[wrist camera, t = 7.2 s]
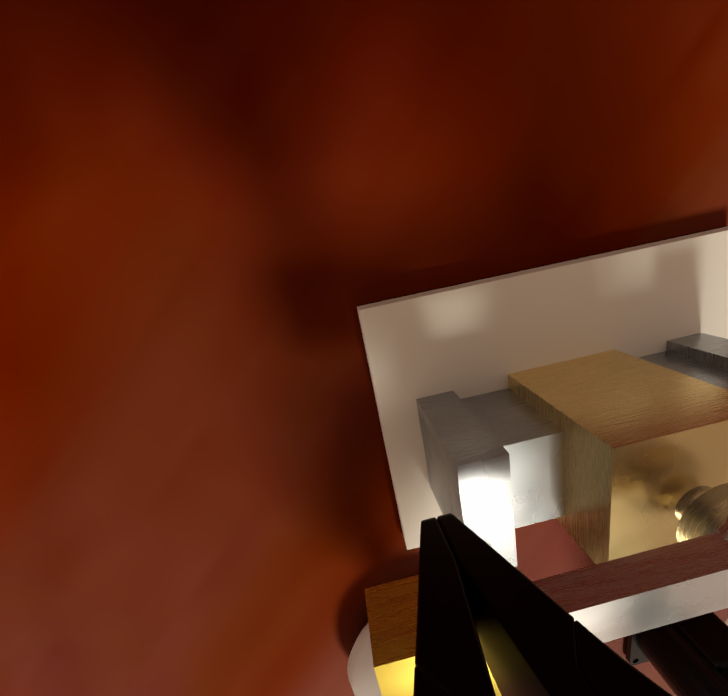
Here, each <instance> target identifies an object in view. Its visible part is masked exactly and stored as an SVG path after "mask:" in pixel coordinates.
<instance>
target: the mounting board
mask: <svg viewBox="0 0 728 696" xmlns="http://www.w3.org/2000/svg"><path fill="white" fill-rule="evenodd" d="M357 311H358V316H359V321H360V326H361V331H362V335H363V340H364V345H365V350H366V355H367V360H368V365H369V370H370V375H371V380H372V384H373V389H374V394H375V399H376V404H377V409H378V414H379V419H380V424H381V429H382V433H383V438H384V443H385V448H386V453H387V458H388V463H389V468H390V473H391V477H392V482H393V487H394V492H395V497H396V502H397V507H398V512H399V517H400V522H401V526H402V531H403V536H404V540H405V544H406V547H407V550H410V549H413V548H417V547H420V528H421V521H422V520H425V519H429V518H433V517H435V518H436V519H437V517H438V516H440V515H443V514H442V512H441V510H440V507H439V505H438V503H437V501H436V498H435V496H434V494H433V492H432V489H431V487H430V482H429V476H428V470H427V464H426V458H425V452H424V445H423V439H422V433H421V427H420V421H419V415H418V409H417V402H416V399H419V398H423V397H427V396H431V395H436V394H440V393H444V392H449V391H454V392H455V393H456V394H457V395H458V397H459V398H460V399H463V398H468V397H472V396H476V395H480V394H485V393H489V392H493V391H498V390H502V389H506V388H509V387H508V374H511V373H515V372H519V371H524V370H528V369H532V368H537V367H541V366H545V365H550V364H554V363H558V362H562V361H567V360H571V359H575V358H580V357H584V356H588V355H593V354H597V353H601V352H605V351H610V350H614V349H615V350H618V351H621V352H624V353H626V354H629V355H632V356H635V357H642V356H647V355H651V354H655V353H659V352H664V351H666V343H667V341H668V340H672V339H676V338H680V337H685V336H689V335H693V334H698V333H704V334H709V335H713V336H717V337H721V338H726V339H728V226H727V227H722V228H718V229H713V230H709V231H704V232H699V233H695V234H690V235H685V236H681V237H676V238H672V239H667V240H662V241H658V242H653V243H648V244H644V245H639V246H635V247H630V248H625V249H621V250H616V251H611V252H607V253H602V254H598V255H593V256H588V257H584V258H579V259H574V260H570V261H565V262H561V263H556V264H551V265H547V266H542V267H537V268H533V269H528V270H523V271H519V272H514V273H510V274H505V275H500V276H496V277H491V278H486V279H482V280H477V281H473V282H468V283H463V284H459V285H454V286H449V287H445V288H440V289H436V290H431V291H426V292H422V293H417V294H412V295H408V296H403V297H399V298H394V299H389V300H385V301H380V302H375V303H371V304H366V305H362V306H357Z"/></svg>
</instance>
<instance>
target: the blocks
mask: <svg viewBox="0 0 728 696" xmlns="http://www.w3.org/2000/svg"><path fill="white" fill-rule="evenodd" d="M508 387H509V388H506V389H502V390H498V391H493V392H489V393H485V394H480V395H476V396H472V397H468V398H463V399H460V398H459V397H458V395H457V394H456V393H455V392H454V391H449V392H444V393H440V394H436V395H431V396H427V397H423V398H419V399H416V402H417V409H418V415H419V421H420V427H421V433H422V439H423V445H424V452H425V458H426V464H427V470H428V476H429V482H430V487H431V489H432V492H433V494H434V496H435V498H436V501H437V503H438V505H439V507H440V510H441V512H442V514H443V515H444V514H448V513H452V514H453V515H455V516H456V517H457V518H458V519H459V520H461V521H462V522H463V523H464V524H465V525H466V526H468V527H469V528H470V529H471V530H472V531H473V532H475V533H476V534H477V535H478V536H479V537H480V538H482V539H483V540H484V541H485V542H486V543H487V544H489V545H490V546H491V547H492V548H493V549H494V550H496V551H497V552H498V553H499V554H500V555H501V556H503V557H504V558H505V559H506V560H507V561H508V562H510V563H511V564H512V565H513V566H514V567H516V566H517V556H516V542H515V528H519V527H522V526H526V525H530V524H534V523H538V522H542V521H546V520H550V519H554V518H557V519H558V521H559V522H560V523H561V524H562V525H563V526H564V528H565V529H566V530H567V531H568V532H569V534H570V535H571V536H572V537H573V538H574V539H575V541H576V542H577V543H578V544H579V545H580V546H581V548H582V549H583V550H584V551H585V552H586V553H587V555H588V556H589V557H590V558H591V559H592V560H593V562H594V563H595V564H599V563H603V562H607V561H610V560H614V559H618V558H622V557H625V556H629V555H633V554H637V553H640V552H644V551H648V550H651V549H655V548H659V547H663V546H666V545H670V544H674V543H678V541H677V537H676V530H677V526H678V523H679V520H678V519H677V517H676V515H675V508H676V505H677V503H678V501H679V500H680V498H681V497H682V496H683V495H684V494H685V493H686V492H688V491H689V490H691V489H693V488H695V487H698V486H710V487H712V488H713V487H716V486H718V485H721V484H724V483H728V339H726V338H721V337H717V336H713V335H709V334H704V333H698V334H693V335H689V336H685V337H680V338H676V339H672V340H668V341H667V343H666V351H664V352H659V353H655V354H651V355H647V356H642V357H635V356H632V355H629V354H626V353H624V352H621V351H618V350H615V349H614V350H610V351H605V352H601V353H597V354H593V355H588V356H584V357H580V358H575V359H571V360H567V361H562V362H558V363H554V364H550V365H545V366H541V367H537V368H532V369H528V370H524V371H519V372H515V373H511V374H508Z"/></svg>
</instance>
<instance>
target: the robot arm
mask: <svg viewBox="0 0 728 696" xmlns="http://www.w3.org/2000/svg"><path fill="white" fill-rule="evenodd" d="M626 659H627V660H628V662H629V663H630V664H629V663H628V662H627V661H625V660H624V659H623V658H622V657H620V656H619V655H618V654H617V653H615V652H614V651H613V650H612V649H611V648H609V647H608V646H607V645H606V644H605V643H603V642H602V641H601V640H600V639H598V638H597V637H596V636H595V635H594V634H592V633H591V632H590V631H589V630H588V629H587V628H586V627H584V626H583V625H582V624H581V623H580V622H579V621H577V620H576V621H575V622H574V618H573V616H571V615H570V614H569V613H568V612H567V611H566V610H564V609H563V608H562V607H561V606H560V605H559V604H557V603H556V602H555V601H554V600H553V599H552V598H550V597H549V596H548V595H547V594H546V593H545V592H543V591H542V590H541V589H540V588H539V587H538V586H536V585H535V584H534V583H533V582H532V581H531V580H529V579H528V578H527V577H526V576H525V575H524V574H522V573H521V572H520V571H519V570H518V569H517V568H515V567H514V566H513V565H512V564H511V563H510V562H508V561H507V560H506V559H505V558H504V557H503V556H501V555H500V554H499V553H498V552H497V551H496V550H494V549H493V548H492V547H491V546H490V545H489V544H487V543H486V542H485V541H484V540H483V539H482V538H480V537H479V536H478V535H477V534H476V533H475V532H473V531H472V530H471V529H470V528H469V527H468V526H466V525H465V524H464V523H463V522H462V521H461V520H459V519H458V518H457V517H456V516H455V515H453V514H452V513H448V514H444V515H440V516H438V517H437V519H436V518H435V517H433V518H429V519H425V520H422V521H421V528H420V552H419V576H418V600H417V624H416V648H415V666H416V667H415V668H414V691H413V696H496V694H495V691H494V688H493V684H492V681H491V677H490V674H489V670H488V667H489V669H490V671H491V673H492V676H493V678H494V680H495V682H496V684H497V687H498V689H499V691H500V693H501V695H502V696H672V695H671V694H669V693H668V692H667V691H665V690H664V689H662V688H661V687H660V686H658V685H657V684H656V683H654V682H653V681H652V680H650V679H649V678H648V677H646V676H645V675H644V674H643V673H641V672H640V671H639V670H637V669H636V668H635V667H633V666H632V665H637V664H640V663H644V662H647V661H650V662H651V664H652V665H653V666H654V668H655V669H656V670H657V671H658V673H659V674H660V675H661V676H662V678H663V679H664V680H665V682H666V683H667V684H668V685H669V687H670V688H671V689H672V691H673V692H674V693H675V694H676V696H728V626H727V625H726V624H725V623H724V622H723V621H722V620H721V619H720V618H719V617H718V616H717V615H716V614H714V613H713V612H711V613H707V614H704V615H700V616H697V617H693V618H689V619H686V620H682V621H679V622H675V623H672V624H668V625H665V626H661V627H657V628H654V629H650V630H647V631H643V632H640V633H636V634H633V635H629V636H627V645H626ZM486 662H487V663H486ZM487 665H488V667H487Z"/></svg>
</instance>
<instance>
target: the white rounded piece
mask: <svg viewBox="0 0 728 696" xmlns="http://www.w3.org/2000/svg"><path fill="white" fill-rule="evenodd" d="M347 672H348V679H349V681H350V684H351V687H352V689H353V692H354V695H355V696H382V695H381V691H380V688H379V684H378V681H377V677H376V674H375V670H374V665H373V657H372V649H371V641H370V632H369V624H368V623H367V624H366V625H365V627H364V628H363V629H362V631H361V632H360V634H359V635H358V637H357V639H356V641H355V644H354V646H353V648H352V650H351V653H350V655H349V660H348V667H347Z"/></svg>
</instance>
